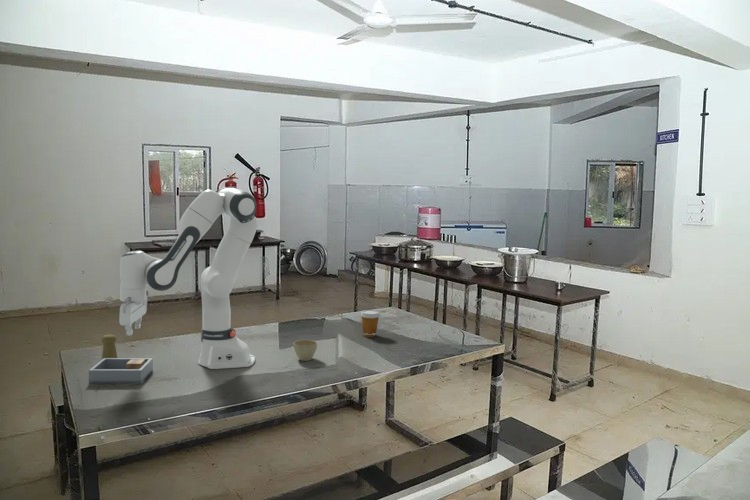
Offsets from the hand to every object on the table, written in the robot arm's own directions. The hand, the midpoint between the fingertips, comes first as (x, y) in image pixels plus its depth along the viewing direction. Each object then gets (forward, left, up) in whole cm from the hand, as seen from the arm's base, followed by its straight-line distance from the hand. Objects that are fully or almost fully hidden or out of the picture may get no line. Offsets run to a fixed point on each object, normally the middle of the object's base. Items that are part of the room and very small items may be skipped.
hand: (133, 331), depth 204 cm
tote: (+4, +1, -17) cm, 18 cm away
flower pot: (-63, -21, -17) cm, 69 cm away
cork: (+15, -17, -17) cm, 29 cm away
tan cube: (-1, +1, -16) cm, 16 cm away
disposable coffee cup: (-94, -59, -17) cm, 112 cm away
